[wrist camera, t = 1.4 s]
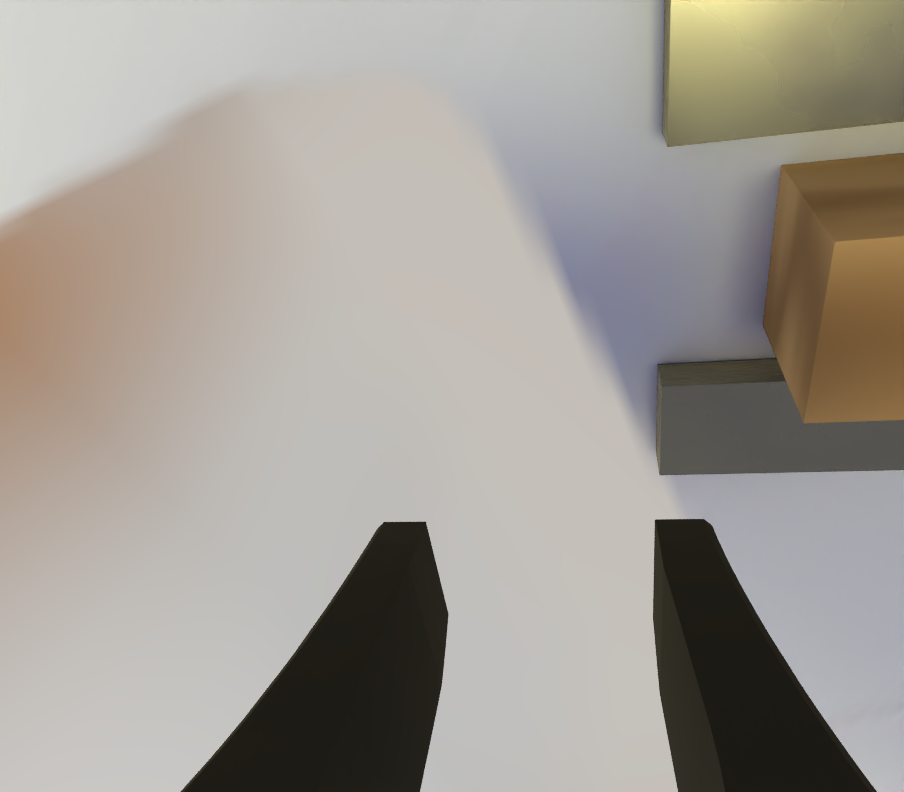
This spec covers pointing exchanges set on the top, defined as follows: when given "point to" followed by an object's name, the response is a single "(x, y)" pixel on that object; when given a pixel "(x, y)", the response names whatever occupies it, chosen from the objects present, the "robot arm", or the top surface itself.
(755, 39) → the slot rails
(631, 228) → the top surface
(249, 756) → the robot arm
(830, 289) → the block
